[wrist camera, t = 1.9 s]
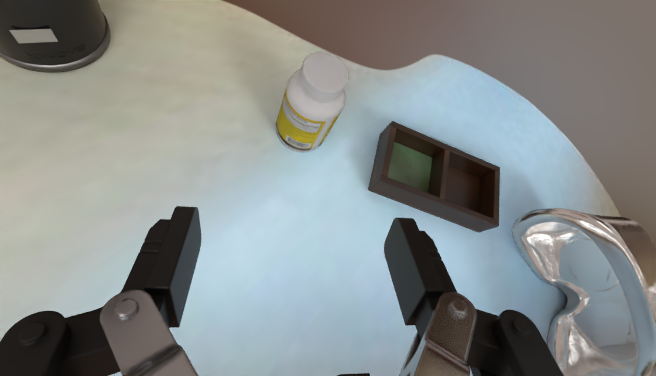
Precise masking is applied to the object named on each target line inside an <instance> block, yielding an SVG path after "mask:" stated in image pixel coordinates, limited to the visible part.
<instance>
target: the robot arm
mask: <svg viewBox="0 0 656 376" xmlns="http://www.w3.org/2000/svg"><path fill="white" fill-rule="evenodd" d="M109 41H110V28H109V25H108V22H107V20H106V17H105V15H104V13H103V12H102V10H101V7H100V4H99V2H98V0H0V56H1V57H2V58H3V59H5V60H6V61H8V62H10V63H12V64H14V65H16V66H19V67H22V68H25V69H29V70H33V71H40V72H64V71H70V70H74V69H78V68H81V67H83V66H86V65H88V64H90V63H91V62H93V61H95V60H96V59H97V58H98V57H100V56H101V55H102V54H103V52H104V51H105V50H106V48H107V46H108V44H109ZM200 246H201V228H200V220H199V211H198V208H197V207H181V206H177V207H176V208H175V210H174V212H173V215H172V217H171V220H165V219H160V220H159V221H158V222H157V223H156V224H155V225H154V226H153V227H151V228H150V230H149V232H148V234H147V236H146V238H145V242H144V243H143V245H142V247H141V250H140V253H139V254H138V256H137V258H136V261H135V263H134V265H133V267H132V270H131V272H130V274H129V276H128V278H127V281H126V283H125V285H124V287H123V289H122V291H121V292H120V293H119V294H118V295H116V296H114V297H113V298H111V299H110V300H109V301H108V302H107V303H106V304H105V305H104V306H103V307H101V308H99V309H96V310H93V311H90V312H86V313H82V314H78V315H75V316H71V317H67V318H64V317H63V315H61V314H60V313H58V312H55V311H42V312H38V313H34V314H31V315H29V316H27V317H25V318H23V319H22V320H20V321H19V322H17V323H16V324H14V325H13V326H12V327H11V328H10V329H9V330H8V331H7V333H6V334H5V335H4V337H3V338H2V340H1V342H0V376H108V375H111V374H114V373H117V372H120V371H121V373H122V375H123V376H198V374H197V373H196V371H195V369H194V367H193V366H192V364H191V362H190V360H189V358H188V357H187V355H186V353H185V351H184V350H183V348H182V347H181V346H180V345H178V344H177V342H176V341H175V339H174V337H173V335H172V333H171V332H170V330H169V328H170V327H179V326H180V322H181V318H182V315H183V311H184V307H185V303H186V300H187V296H188V292H189V288H190V285H191V281H192V277H193V273H194V270H195V266H196V262H197V258H198V255H199V251H200ZM384 254H385V258H386V261H387V265H388V268H389V271H390V275H391V278H392V281H393V285H394V288H395V292H396V295H397V298H398V302H399V305H400V308H401V312H402V315H403V319H404V322H405V325H415V326H416V329H417V333H416V335H415V337H414V339H413V342H412V344H411V347H410V349H409V352H408V354H407V357H406V359H405V362H404V364H403V366H402V369H401V371H400V374H399V376H470V368H471V371H472V374H473V376H564V375H563V373H562V371H561V369H560V368H559V366H558V364H557V362H556V361H555V359H554V357H553V355H552V354H551V352H550V350H549V348H548V346H547V345H546V343H545V341H544V339H543V338H542V336H541V334H540V332H539V331H538V329H537V327H536V326H535V324H534V323H533V322H532V321H531V320H530V319H529V318H528V317H526V316H525V315H524V314H522V313H520V312H517V311H514V310H505V311H503V312H502V313H501V314H500V315H499V316H497V315H493V314H490V313H487V312H484V311H480V310H478V309H475V307H474V306H473V304H472V303H471V302H470V301H469V300H468V299H467V298H466V297H464V296H463V295H461V294H459V293H457V291H456V289H455V287H454V285H453V282H452V280H451V278H450V276H449V274H448V272H447V269H446V267H445V265H444V263H443V261H441V257H440V254H439V253H438V250H437V248H436V246H435V244H434V241H433V240H432V239H431V238H430V237H429V236H428V234H427V233H426V232H425V231H419V229H418V227H417V224H416V222H415V220H414V219H412V218H395V219H394V220H393V223H392V225H391V228H390V230H389V233H388V235H387V238H386V240H385V244H384ZM467 365H468V366H467ZM469 366H470V367H469ZM338 376H370V374H369V373H364V374H340V375H338Z"/></svg>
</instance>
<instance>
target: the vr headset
mask: <svg viewBox="0 0 656 376" xmlns="http://www.w3.org/2000/svg"><path fill="white" fill-rule="evenodd" d="M512 235H513V238H514V241H515V243H516V244H517V246H518V248H519V251H520V253H521V254H522V256H523V258H524V259H525V261H526V263H527V264H528V266H529V267H530V268H531V270H532V271H533V272H534V273H535V274H536V275H537V276H538V277H539V278H540V279H541V280H543V281H544V282H546V283H548V284H551V285H554V286H557V287H558V288H560V289H561V290H562V291H563V292H564V293H565V295H566V297H567V304H566V307H565V308H564V310H563V311H561V312H560V313H558V314H557V315H556V316H555V317H554V318H553V320H552V323H551V326H550V329H549V335H548V344H547V346H548V348H549V350H550V352H551V354H552V355H553V357H554V359H555V361H556V362H557V364H558V366H559V368H560V369H561V371H562V373H563V375H564V376H656V248H655V246H654V244H653V242H652V241H651V239H650V237H649V235H648V234H647V232H646V231H645V230H644V228H643V227H642V226H641V225H639V224H638V223H637V222H635V221H633V220H630V219H627V218H623V217H611V216H600V215H592V214H586V213H581V212H577V211H573V210H568V209H556V208H555V209H540V210H534V211H531V212H528V213H526V214H524V215H522V216H521V217H519V218H518V219H517V220H516V221H515V222H514V224H513V227H512Z"/></svg>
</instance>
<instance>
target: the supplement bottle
mask: <svg viewBox="0 0 656 376" xmlns="http://www.w3.org/2000/svg"><path fill="white" fill-rule="evenodd" d="M348 80H349V73H348V70H347V67H346V66H345V64H344V63H343V62H342V61H341V60H340V59H339V58H338V57H336V56H334V55H332V54H330V53H326V52H315V53H312V54H310V55H308V56H307V57H306V58H305V60H304V62H303V64H302V67H301V69H299V70H298V71H296V72H295V73H294V74H293V75H292V76H291V78H290V79H289V82H288V84H287V87H286V91H285V94H284V98H283V101H282V105H281V108H280V111H279V115H278V118H277V123H276V131H277V134H278V137H279V139H280V140H281V142H282V143H283V144H284V145H285V146H287V147H288V148H290V149H292V150H294V151H297V152H310V151H313V150H315V149H317V148H318V147H319V146H320V145H321V144H322V142H323V141H324V139H325V138H326V136H327V134H328V133H329V131H330V129H331V128H332V126H333V124H334V123H335V121H336V119H337V118H338V116H339V114H340V113H341V111H342V109H343V107H344V104H345V91H344V89H345V87H346V85H347V84H348Z"/></svg>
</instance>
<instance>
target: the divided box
mask: <svg viewBox="0 0 656 376" xmlns="http://www.w3.org/2000/svg"><path fill="white" fill-rule="evenodd" d="M499 185H500V167H498V166H495V165H493V164H491V163H488V162H486V161H484V160H481V159H479V158H477V157H474V156H472V155H470V154H468V153H465V152H463V151H461V150H458V149H456V148H454V147H451V146H449V145H447V144H444V143H442V142H440V141H437V140H435V139H433V138H430V137H428V136H426V135H423V134H421V133H419V132H416V131H414V130H412V129H410V128H407V127H405V126H403V125H400V124H398V123H396V122H393V121H392V122H391V123H390V124H389V125H388V126H387V127H386V128H385V129H384V131H383V132H382V133H381V134H380V137H379V142H378V146H377V151H376V156H375V160H374V165H373V170H372V174H371V179H370V184H369V188H368V190H369V191H371V192H374V193H377V194H379V195H382V196H385V197H387V198H390V199H392V200H395V201H398V202H400V203H403V204H406V205H408V206H411V207H414V208H416V209H419V210H421V211H424V212H427V213H429V214H432V215H435V216H437V217H440V218H443V219H445V220H448V221H450V222H453V223H456V224H458V225H461V226H464V227H466V228H469V229H472V230H474V231H477V232H482V231H485V230H488V229H492V228H495V227H498V226H499V221H498V220H499Z"/></svg>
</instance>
